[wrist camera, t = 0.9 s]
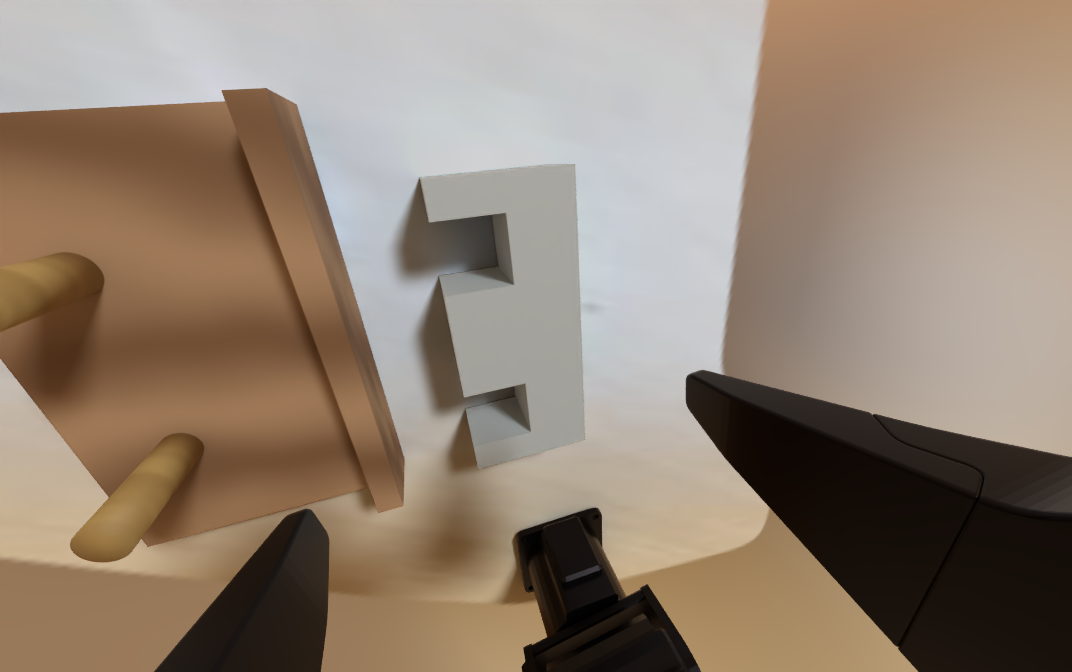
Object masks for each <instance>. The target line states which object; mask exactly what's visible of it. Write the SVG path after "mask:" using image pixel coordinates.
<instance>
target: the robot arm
mask: <svg viewBox="0 0 1072 672" xmlns="http://www.w3.org/2000/svg"><path fill="white" fill-rule="evenodd" d="M686 404H687V407H688V409H689V410H690V412H691V413H692V414H693V416H694V417H695V419H696V420H697V421H698V423H699V424H700V425H701V427H702V428H703V429H704V431H705V432H706V433H707V435H708V436H709V437H710V439H711V440H712V442H713V443H714V444H715V446H716V447H717V448H718V450H719V451H720V452H721V453H722V455H723V456H724V457H725V459H726V460H727V461H728V462H729V463H730V464H731V465H732V467H733V468H734V469H735V470H736V471H737V472H738V473H739V474H740V475H741V476H742V478H743V479H744V480H745V481H746V482H747V483H748V484H749V485H750V486H751V487H752V489H753V490H754V491H755V492H756V493H757V494H758V495H759V496H760V497H761V498H762V500H763V501H764V502H765V503H766V504H767V505H768V506H769V507H770V508H771V509H772V511H773V512H774V513H775V514H776V515H777V516H778V517H779V518H780V519H781V520H782V522H783V523H784V524H785V525H786V526H787V527H788V528H789V529H790V530H791V531H792V533H793V534H794V535H795V536H796V537H797V538H798V539H799V540H800V541H801V542H802V543H803V545H804V546H805V547H806V548H807V549H808V550H809V551H810V552H811V553H812V555H813V556H814V557H815V558H816V559H817V560H818V561H819V562H820V563H821V564H822V565H823V567H825V569H826V570H827V571H828V572H829V573H830V574H831V575H832V577H833V578H834V579H835V580H836V581H837V582H838V583H839V584H840V585H841V586H842V587H843V589H844V590H845V591H846V592H847V593H848V594H849V595H850V596H851V597H852V598H853V600H854V601H855V602H856V603H857V604H858V605H859V606H860V607H861V608H862V609H863V611H864V612H865V613H866V614H867V615H868V616H869V617H870V618H871V619H872V621H874V623H875V624H876V625H877V626H878V627H879V628H880V629H881V630H882V631H883V633H884V634H885V635H886V636H887V637H888V638H889V639H890V640H891V641H892V643H893V644H894V645H895V646H897V647H898V649H899V651H900V652H901V653H902V654H903V655H904V656H905V657H906V658H907V660H908V661H909V662H910V663H911V664H912V665H913V666H914V667H915V668H916V669H917V670H918V672H1072V457H1068V456H1062V455H1057V454H1053V453H1048V452H1043V451H1038V450H1034V449H1029V448H1024V447H1019V446H1014V445H1009V444H1004V443H1000V442H995V441H990V440H985V439H981V438H975V437H971V436H966V435H962V434H957V433H952V432H947V431H943V430H939V429H933V428H929V427H925V426H921V425H917V424H913V423H909V422H904V421H901V420H897V419H893V418H889V417H885V416H881V415H877V414H873V415H872V414H871V413H869V412H865V411H862V410H857V409H854V408H850V407H846V406H842V405H838V404H834V403H830V402H826V401H823V400H819V399H814V398H811V397H806V396H803V395H799V394H795V393H791V392H787V391H784V390H779V389H776V388H771V387H768V386H764V385H760V384H756V383H752V382H749V381H745V380H741V379H737V378H733V377H729V376H725V375H721V374H717V373H713V372H710V371H706V370H699V371H697V372H694V373H691V374H689V375H688V376H687V378H686ZM517 544H518V550H519V557H520V563H521V569H522V576H523V582H524V587H525V590H526V592H533V591H534V592H535V595H536V599H537V602H538V605H539V609H540V613H541V616H542V620H543V623H544V627H545V630H546V634H547V638H545V639H543V640H541V641H539V642H537V643H535V644H533V645H532V644H529V645H527V646H525V647H524V654H525V663H524V664H523V666H522V672H701V671H700V669H699V667H698V665H697V663H696V661H695V659H694V657H693V655H692V653H691V652H690V650H689V648H688V646H687V645H686V643H685V642H684V640H683V638H682V637H681V635H680V634H679V632H678V631H677V629H676V628H675V626H674V624H673V623H672V621H671V620H670V618H669V617H668V615H667V614H666V612H665V611H664V609H663V608H662V606H661V604H660V603H659V601H658V600H657V598H656V597H655V595H654V594H653V592H652V590H651V589H650V587H649V586H648V585H647V584H646V585H645V586H643V587H641V588H640V590H638V591H636V592H635V593H633V594H631V595H629V596H627V597H626V595H625V593H624V591H623V589H622V587H621V585H620V583H619V581H618V579H617V577H616V575H615V573H614V571H613V569H612V567H611V565H610V563H609V561H608V559H607V557H606V555H605V553H604V551H603V549H602V515H601V512H600V510H599V509H598V508H592V509H589V510H586V511H583V512H580V513H577V514H574V515H570V516H567V517H564V518H561V519H558V520H555V521H552V522H549V523H546V524H542V525H539V526H536V527H533V528H530V529H527V530H524V531H521V532H520V533H518V535H517ZM328 581H329V537H328V534H327V532H326V530H325V529H324V527H323V526H322V524H321V523H320V521H319V520H318V518H317V517H316V515H315V514H314V513H313V511H312V510H310V509H303V510H300V511H297V512H295V513H292V514H289V515H287V516H286V517H285V518H284V519H283V520H282V521H281V523H280V524H279V525H278V526H277V527H276V528H275V530H274V531H273V532H272V533H271V534H270V536H269V537H268V538H267V539H266V540H265V541H264V543H263V544H262V545H261V546H260V547H259V548H258V550H257V551H256V552H255V553H254V554H253V556H252V557H251V558H250V559H249V560H248V561H247V563H246V564H245V565H244V566H243V567H242V569H241V570H240V571H239V572H238V573H237V574H236V576H235V577H234V578H233V579H232V580H231V582H230V583H229V584H228V585H227V586H226V588H225V589H224V590H223V591H222V592H221V593H220V595H219V596H218V597H217V598H216V599H215V601H214V602H213V603H212V604H211V605H210V606H209V608H208V609H207V610H206V611H205V612H204V613H203V615H202V616H201V617H200V618H199V619H198V621H197V622H196V623H195V624H194V625H193V626H192V628H191V629H190V630H189V631H188V632H187V633H186V635H185V636H184V637H183V638H182V639H181V640H180V642H179V643H178V644H177V645H176V646H175V648H174V649H173V650H172V651H171V652H170V653H169V655H168V656H167V657H166V658H165V659H164V661H163V662H162V663H161V664H160V665H159V666H158V668H157V669H156V670H155V671H154V672H321V665H322V657H323V650H324V642H325V634H326V626H327V613H328Z"/></svg>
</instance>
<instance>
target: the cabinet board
mask: <svg viewBox="0 0 1072 672" xmlns="http://www.w3.org/2000/svg"><path fill="white" fill-rule="evenodd" d="M222 93H223V96H224V99H225V101H224V102H205V103H186V104H166V105H147V106H127V107H108V108H89V109H69V110H50V111H30V112H11V113H0V359H1V360H2V361H3V363H4V364H5V365H6V366H7V368H8V369H9V370H10V372H11V373H12V374H13V375H14V377H15V378H16V379H17V381H18V382H19V383H20V384H21V386H22V387H23V388H24V389H25V391H26V392H27V393H28V395H29V396H30V397H31V398H32V400H33V401H34V402H35V403H36V405H37V406H38V407H39V409H40V410H41V411H42V412H43V414H44V415H45V416H46V418H47V419H48V420H49V421H50V423H51V424H52V425H53V426H54V428H55V429H56V430H57V432H58V433H59V434H60V435H61V437H62V438H63V439H64V441H65V442H66V443H67V444H68V446H69V447H70V448H71V449H72V451H73V452H74V453H75V455H76V456H77V457H78V458H79V460H80V461H81V462H82V464H83V465H84V466H85V467H86V469H87V470H88V471H89V472H90V474H91V475H92V476H93V478H94V479H95V480H96V481H97V483H98V484H99V485H100V486H101V488H102V489H103V490H104V492H105V493H106V494H107V495H108V497H109V498H108V499H107V501H106V502H105V503H104V504H103V505H102V506H101V507H100V508H99V509H98V510H97V512H96V513H95V514H94V515H93V516H92V517H91V518H90V519H89V520H88V521H87V523H86V524H85V525H84V526H83V527H82V528H81V529H80V530H79V531H78V532H77V533H76V535H75V536H74V537H73V538H72V540H71V542H70V547H71V550H72V551H73V553H74V554H76V555H77V556H78V557H80V558H82V559H85V560H88V561H92V562H112V561H116V560H119V559H122V558H124V557H126V556H127V555H129V554H130V553H131V552H132V550H133V549H134V548H135V546H136V545H137V544H138V542H139V541H140V539H142V540H143V541H144V543H145V544H146V545H147V547H149V546H153V545H156V544H160V543H164V542H168V541H171V540H175V539H179V538H182V537H186V536H190V535H193V534H197V533H201V532H205V531H208V530H212V529H216V528H219V527H223V526H227V525H231V524H234V523H238V522H242V521H245V520H249V519H253V518H257V517H260V516H264V515H268V514H271V513H275V512H279V511H283V510H286V509H290V508H294V507H297V506H301V505H305V504H308V503H312V502H316V501H320V500H323V499H327V498H331V497H334V496H338V495H342V494H346V493H349V492H353V491H357V490H360V489H364V488H368V487H369V489H370V491H371V494H372V497H373V499H374V502H375V505H376V507H377V510H378V513H380V512H384V511H387V510H391V509H394V508H398V507H401V506H403V499H404V456H403V453H402V450H401V446H400V443H399V440H398V437H397V433H396V430H395V427H394V423H393V420H392V417H391V413H390V410H389V407H388V404H387V400H386V397H385V394H384V390H383V387H382V384H381V381H380V377H379V374H378V371H377V367H376V364H375V361H374V358H373V354H372V351H371V348H370V344H369V341H368V338H367V335H366V331H365V328H364V325H363V321H362V318H361V315H360V312H359V308H358V305H357V302H356V298H355V295H354V292H353V289H352V285H351V282H350V279H349V275H348V272H347V269H346V266H345V262H344V259H343V256H342V252H341V249H340V246H339V243H338V239H337V236H336V233H335V229H334V226H333V223H332V220H331V216H330V213H329V210H328V206H327V203H326V200H325V197H324V193H323V190H322V187H321V183H320V180H319V177H318V174H317V170H316V167H315V164H314V160H313V157H312V154H311V151H310V147H309V144H308V141H307V137H306V134H305V131H304V127H303V124H302V121H301V118H300V114H299V111H298V108H297V104H295V103H293V102H291V101H289V100H287V99H285V98H284V97H282V96H280V95H278V94H276V93H274V92H272V91H270V90H268V89H267V88H261V89H239V90H222Z"/></svg>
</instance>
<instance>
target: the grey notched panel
mask: <svg viewBox="0 0 1072 672" xmlns="http://www.w3.org/2000/svg"><path fill="white" fill-rule="evenodd" d="M419 179H420V184H421V189H422V194H423V199H424V204H425V209H426V213H427V217H428V220H429V223H430V222H438V221H445V220H453V219H461V218H469V217H477V216H485V215H492V222H493V229H494V237H495V245H496V253H497V260H498V266H497V267H491V268H485V269H478V270H472V271H466V272H459V273H453V274H447V275H440V276H439V279H440V284H441V289H442V294H443V299H444V304H445V309H446V314H447V319H448V324H449V329H450V334H451V339H452V344H453V349H454V354H455V359H456V364H457V369H458V373H459V377H460V382H461V386H462V391H463V395H464V398H465V397H469V396H473V395H478V394H482V393H486V392H491V391H495V390H499V389H503V388H508V387H512V386H514V392H515V397H511V398H507V399H503V400H499V401H495V402H490V403H486V404H482V405H478V406H474V407H469V408H465V409H466V414H467V419H468V424H469V429H470V434H471V438H472V443H473V448H474V452H475V457H476V461H477V466H478V470H479V469H482V468H486V467H489V466H493V465H497V464H500V463H504V462H507V461H511V460H515V459H518V458H522V457H526V456H529V455H533V454H536V453H540V452H544V451H547V450H551V449H554V448H558V447H562V446H565V445H569V444H573V443H576V442H580V441H583V440H585V419H584V392H583V365H582V338H581V311H580V284H579V257H578V229H577V202H576V175H575V164H554V165H538V166H528V167H518V168H508V169H499V170H489V171H479V172H469V173H459V174H449V175H439V176H429V177H419Z"/></svg>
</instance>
